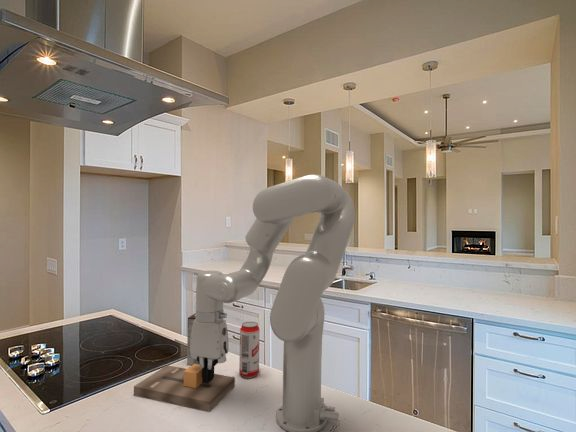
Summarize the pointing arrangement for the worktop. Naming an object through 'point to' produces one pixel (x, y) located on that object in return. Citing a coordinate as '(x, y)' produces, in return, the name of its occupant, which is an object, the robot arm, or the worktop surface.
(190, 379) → the block
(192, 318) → the coffee box
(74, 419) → the worktop surface
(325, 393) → the worktop surface
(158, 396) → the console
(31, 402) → the worktop surface
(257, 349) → the beer can
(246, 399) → the worktop surface
